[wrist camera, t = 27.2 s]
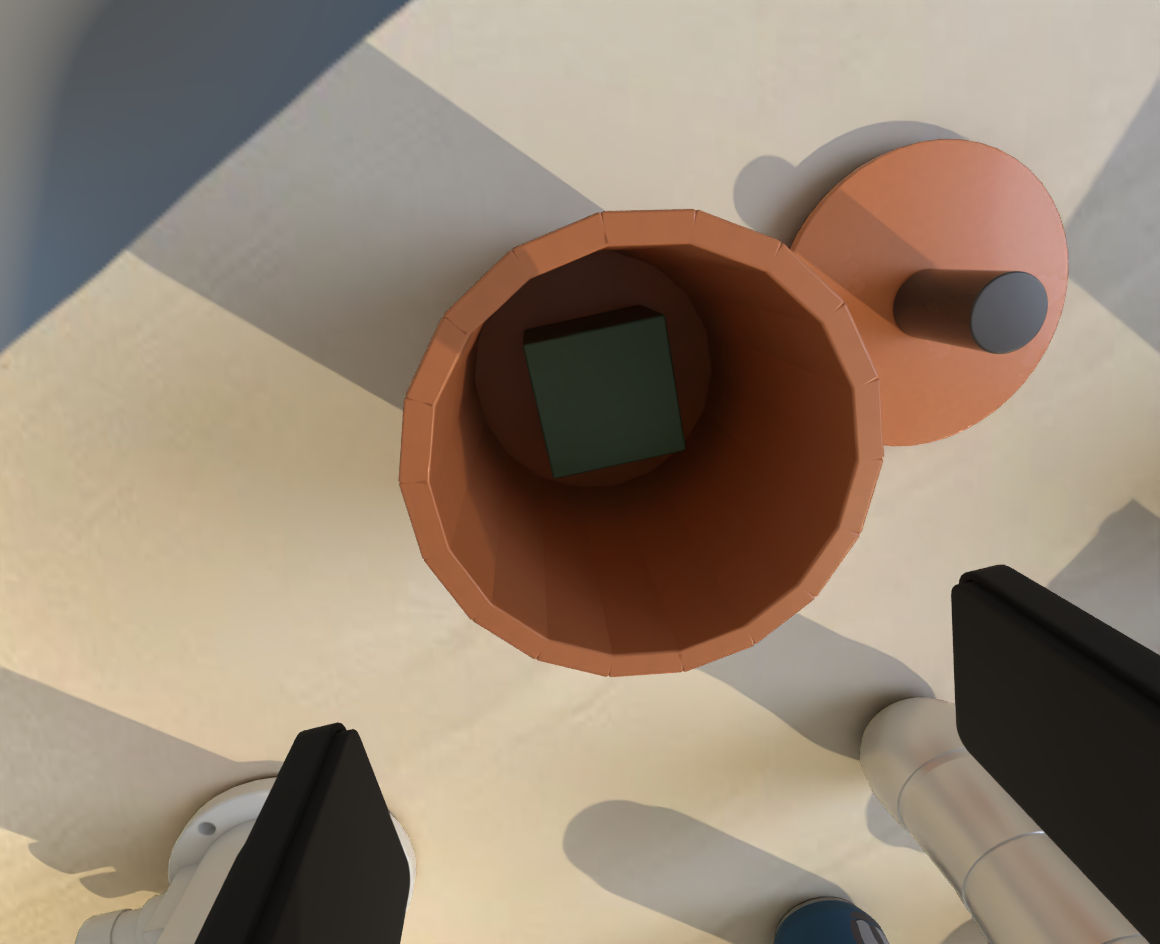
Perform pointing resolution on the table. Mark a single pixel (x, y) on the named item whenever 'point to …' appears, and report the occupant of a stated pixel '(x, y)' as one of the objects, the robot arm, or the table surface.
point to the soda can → (828, 924)
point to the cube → (604, 389)
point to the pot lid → (942, 278)
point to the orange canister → (656, 485)
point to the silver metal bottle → (981, 834)
